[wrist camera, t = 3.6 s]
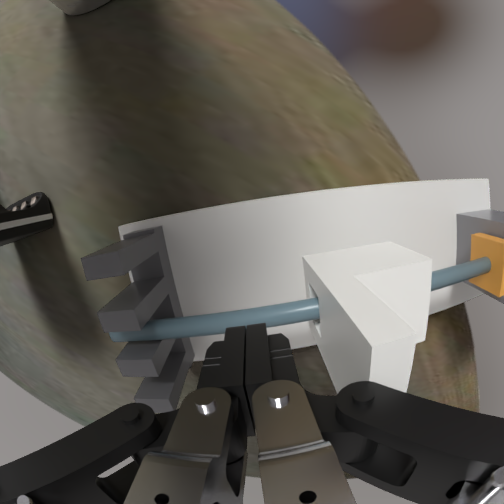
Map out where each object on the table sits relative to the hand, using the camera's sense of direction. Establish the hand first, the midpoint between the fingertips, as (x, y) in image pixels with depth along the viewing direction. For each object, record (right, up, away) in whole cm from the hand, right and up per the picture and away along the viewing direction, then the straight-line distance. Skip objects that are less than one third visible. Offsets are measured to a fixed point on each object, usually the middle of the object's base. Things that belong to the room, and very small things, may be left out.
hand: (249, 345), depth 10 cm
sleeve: (+5, +2, +4) cm, 7 cm away
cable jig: (+6, +3, +8) cm, 10 cm away
